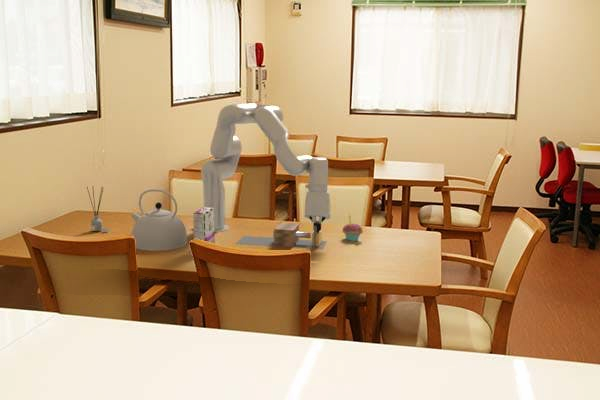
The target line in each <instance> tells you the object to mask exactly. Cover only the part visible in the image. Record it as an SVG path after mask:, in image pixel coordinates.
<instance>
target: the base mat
mask: <svg viewBox="0 0 600 400" xmlns="http://www.w3.org/2000/svg"><path fill="white" fill-rule="evenodd" d="M327 243H328V241H327V240H322V242H321V243H320V245H319V247H317V246H316V248H313V246H311V244H312V239H301V238H299V240H298V241H297V243H296V244H295V246H294V247H291V248H294V249H295V248H296V249H307V250H308V249H310V250H324V248H325V246H326V244H327ZM235 245H252V246H264V247H268V246H269V247H275V246H274V238H273V237H270V236H269V237H267V236H252V235H243V236H242V237H241V238H240V239H239V240H237V242H236V243H235ZM276 247H280V248H285V247H284V246H276Z"/></svg>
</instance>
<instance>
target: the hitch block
mask: <svg viewBox="0 0 600 400" xmlns="http://www.w3.org/2000/svg"><path fill="white" fill-rule="evenodd" d="M318 221H319V219H318V220H317V222H318ZM274 228H275V229H274ZM274 228H273V232H274V246H273V247H277V246H284V247H283V248H292V247H294V246H295V244H296V243H297V241H298V240H299V239H300V238H296V232H300V223H295V222H279V223H278V225H277V226H276V227H274ZM313 231H314V241H313V248H316V232H317V226H314V230H313Z"/></svg>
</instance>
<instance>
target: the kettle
mask: <svg viewBox="0 0 600 400" xmlns="http://www.w3.org/2000/svg"><path fill="white" fill-rule="evenodd" d="M151 192H159V193H164V194H167V195H168V196H169V197H171V199H172V200H173V203H174V212H172V211H170V210H167V209H161V208H162V207H163V206H162V203H161V202H157V203H155V206H154V207H155V208H156V209H152V210H149V211H146V212H144V210H143V208H142V198H143V196H144V195H145V194H147V193H151ZM138 207H139V209H140V212H141V214H142V215H141V216H140V215H139V214H138V213H136V212H134V213H132V214H130V217H131V218H132V219H133V220H134V221H135V223H134V225H133V227H132V230H131V234H130V235H133V236H134V237H135V239H136V248H135V249H137V250H142V251H153V252H154V251H156V252H157V251H169V250H171V251H172V250H176V249H179V247H180V248H183V247H185V246H187V244H188V234H187V229H186V226H185V224H184V222H183V221H182V220H181V219H180V217H178V216H177V212H178V203H177V200H176V198H175V197H174V195H172V194H171V193H170V192H169V191H166V190H164V189H158V188H157V189H156V188H155V189H154V188H153V189H148V190H145V191H143V192H142V193H141V194H140V195H139V198H138ZM184 245H185V246H184ZM182 246H183V247H182Z"/></svg>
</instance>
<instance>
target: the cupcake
mask: <svg viewBox="0 0 600 400" xmlns="http://www.w3.org/2000/svg"><path fill="white" fill-rule="evenodd" d="M348 220H349V221H348V224H346V225H344V226H343V227H342V233H344V236H345V239H346V240H347V241H353V242H355V241H356V242H358V241H359V238H360V236H361V234H363V232H364V230H363V227H361V226H360V225H359V224H356V223H352V219H351V214H348Z"/></svg>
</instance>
